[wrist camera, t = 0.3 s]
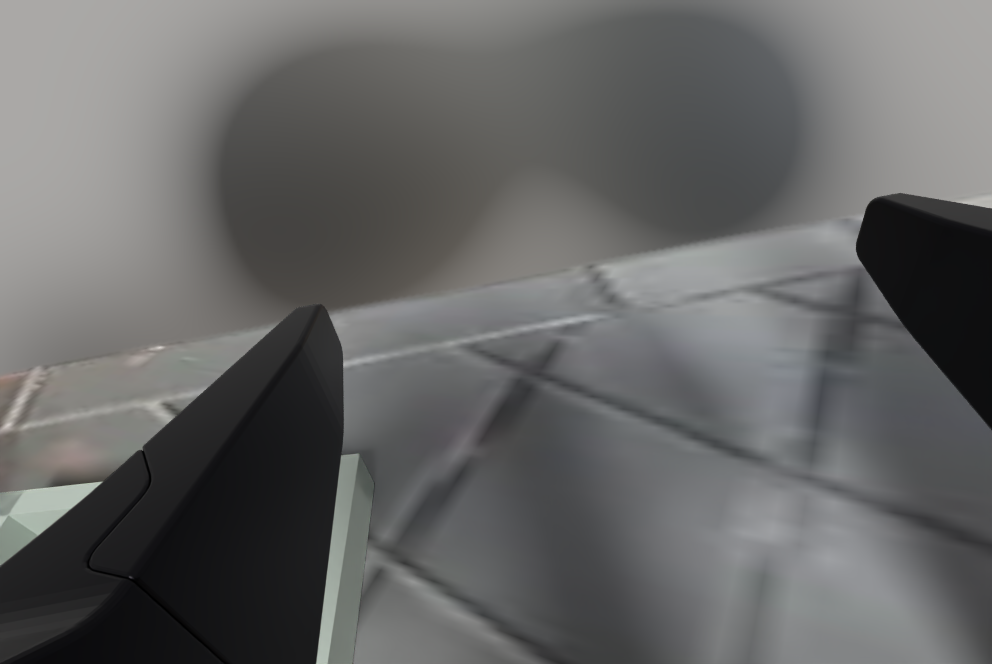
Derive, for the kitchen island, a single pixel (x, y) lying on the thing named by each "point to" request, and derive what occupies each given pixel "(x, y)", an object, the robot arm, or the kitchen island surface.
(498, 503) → the kitchen island surface
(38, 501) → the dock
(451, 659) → the kitchen island surface
